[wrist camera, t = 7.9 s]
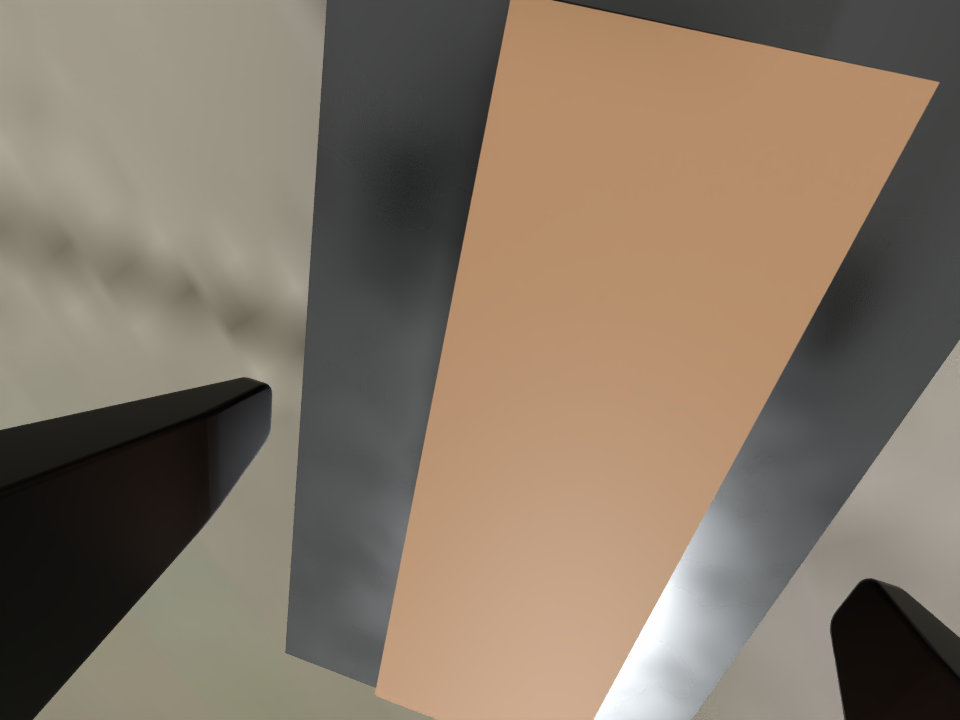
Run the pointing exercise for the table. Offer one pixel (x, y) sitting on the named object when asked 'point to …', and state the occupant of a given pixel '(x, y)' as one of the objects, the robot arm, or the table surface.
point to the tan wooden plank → (616, 337)
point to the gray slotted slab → (429, 290)
